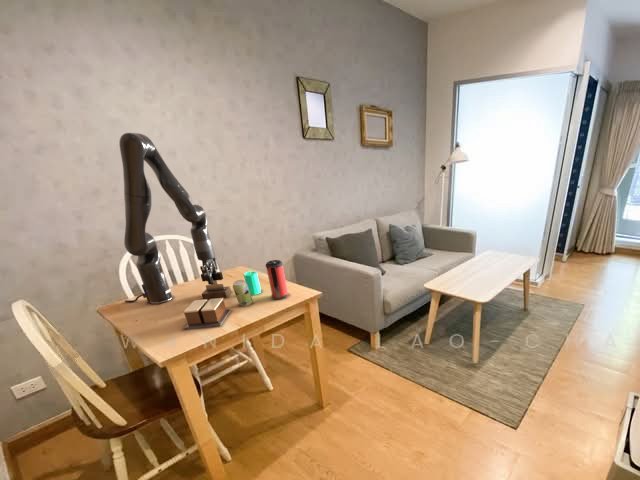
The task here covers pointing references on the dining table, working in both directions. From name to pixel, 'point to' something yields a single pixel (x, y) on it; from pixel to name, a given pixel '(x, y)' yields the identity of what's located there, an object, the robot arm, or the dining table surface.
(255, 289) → the candle
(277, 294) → the speaker
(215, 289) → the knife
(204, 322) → the split wooden block
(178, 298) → the dining table surface
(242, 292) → the beverage can
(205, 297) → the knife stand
